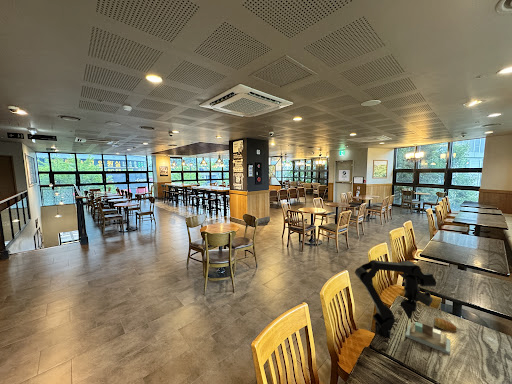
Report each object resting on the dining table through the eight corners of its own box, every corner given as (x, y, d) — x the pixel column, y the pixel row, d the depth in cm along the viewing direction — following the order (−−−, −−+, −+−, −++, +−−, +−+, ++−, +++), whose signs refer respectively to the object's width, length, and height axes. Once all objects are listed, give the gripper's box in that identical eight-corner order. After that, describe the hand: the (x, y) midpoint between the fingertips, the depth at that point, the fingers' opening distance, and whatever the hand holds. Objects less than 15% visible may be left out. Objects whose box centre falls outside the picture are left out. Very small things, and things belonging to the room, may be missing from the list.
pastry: (455, 327, 116) (455, 320, 115) (457, 334, 110) (457, 328, 110) (433, 320, 121) (433, 314, 121) (434, 327, 116) (434, 321, 116)
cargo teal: (415, 330, 109) (415, 324, 109) (415, 327, 111) (415, 321, 111) (422, 333, 107) (422, 327, 107) (423, 329, 109) (423, 324, 109)
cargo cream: (432, 337, 104) (432, 331, 104) (433, 333, 106) (433, 328, 106) (440, 340, 102) (440, 334, 102) (440, 336, 104) (440, 331, 104)
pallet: (409, 334, 109) (409, 321, 109) (411, 327, 114) (411, 314, 113) (445, 348, 99) (445, 334, 99) (446, 340, 104) (446, 326, 104)
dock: (405, 339, 109) (405, 334, 109) (408, 328, 116) (408, 324, 116) (449, 357, 97) (449, 352, 97) (450, 344, 104) (450, 339, 104)
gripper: (428, 299, 97) (428, 331, 98) (433, 284, 110) (433, 312, 111) (400, 291, 105) (400, 320, 106) (408, 277, 118) (407, 304, 119)
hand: (411, 314), depth 111 cm, fingers open, 9 cm apart
